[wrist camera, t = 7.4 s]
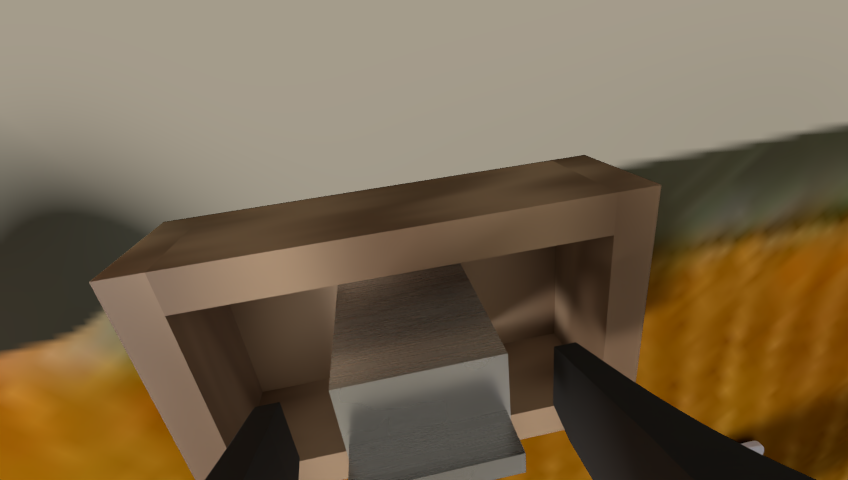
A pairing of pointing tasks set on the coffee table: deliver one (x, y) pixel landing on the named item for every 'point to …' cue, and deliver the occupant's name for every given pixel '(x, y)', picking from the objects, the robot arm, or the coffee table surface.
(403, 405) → the bracket
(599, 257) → the well block
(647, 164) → the coffee table surface
